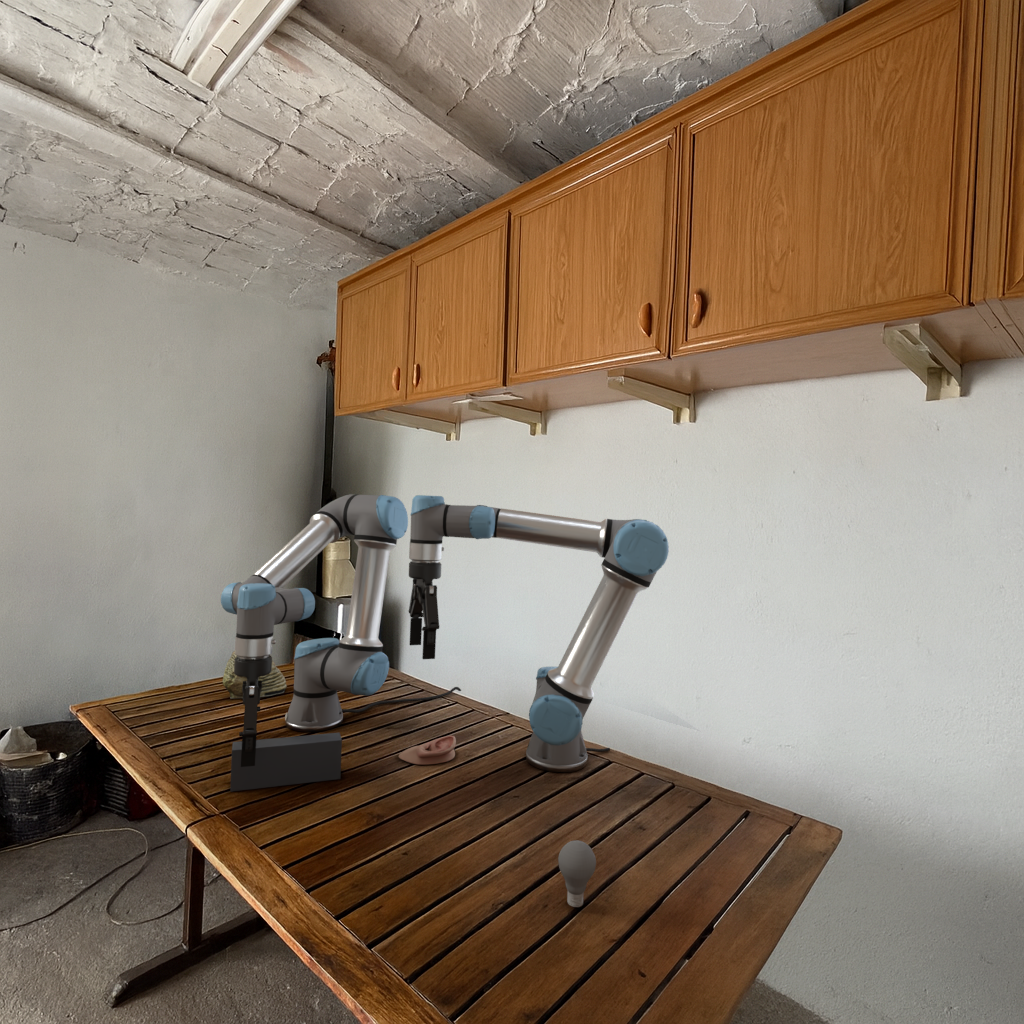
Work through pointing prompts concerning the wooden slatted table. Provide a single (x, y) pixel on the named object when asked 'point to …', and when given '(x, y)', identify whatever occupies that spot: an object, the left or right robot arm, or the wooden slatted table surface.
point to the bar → (288, 761)
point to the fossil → (270, 682)
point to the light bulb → (576, 869)
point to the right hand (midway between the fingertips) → (421, 651)
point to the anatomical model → (431, 751)
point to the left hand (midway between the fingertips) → (248, 753)
